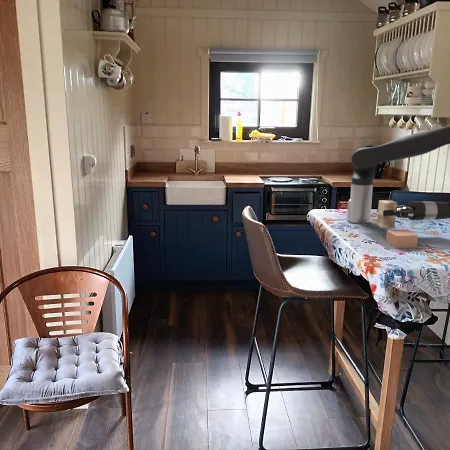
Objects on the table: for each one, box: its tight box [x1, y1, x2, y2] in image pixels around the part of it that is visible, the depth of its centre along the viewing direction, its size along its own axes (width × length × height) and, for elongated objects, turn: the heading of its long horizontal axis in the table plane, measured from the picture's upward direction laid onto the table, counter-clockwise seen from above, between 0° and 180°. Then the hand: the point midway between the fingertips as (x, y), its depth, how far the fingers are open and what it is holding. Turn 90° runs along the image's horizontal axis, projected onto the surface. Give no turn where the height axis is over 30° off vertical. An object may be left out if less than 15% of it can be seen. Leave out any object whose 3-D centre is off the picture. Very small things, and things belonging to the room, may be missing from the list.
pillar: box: [376, 199, 398, 229], centre depth 180 cm, size 5×5×10 cm
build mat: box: [363, 231, 428, 251], centre depth 175 cm, size 15×23×1 cm, turn 5°
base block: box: [386, 229, 419, 248], centre depth 169 cm, size 8×8×4 cm
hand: (380, 211), depth 180 cm, fingers closed on pillar, 5 cm apart
